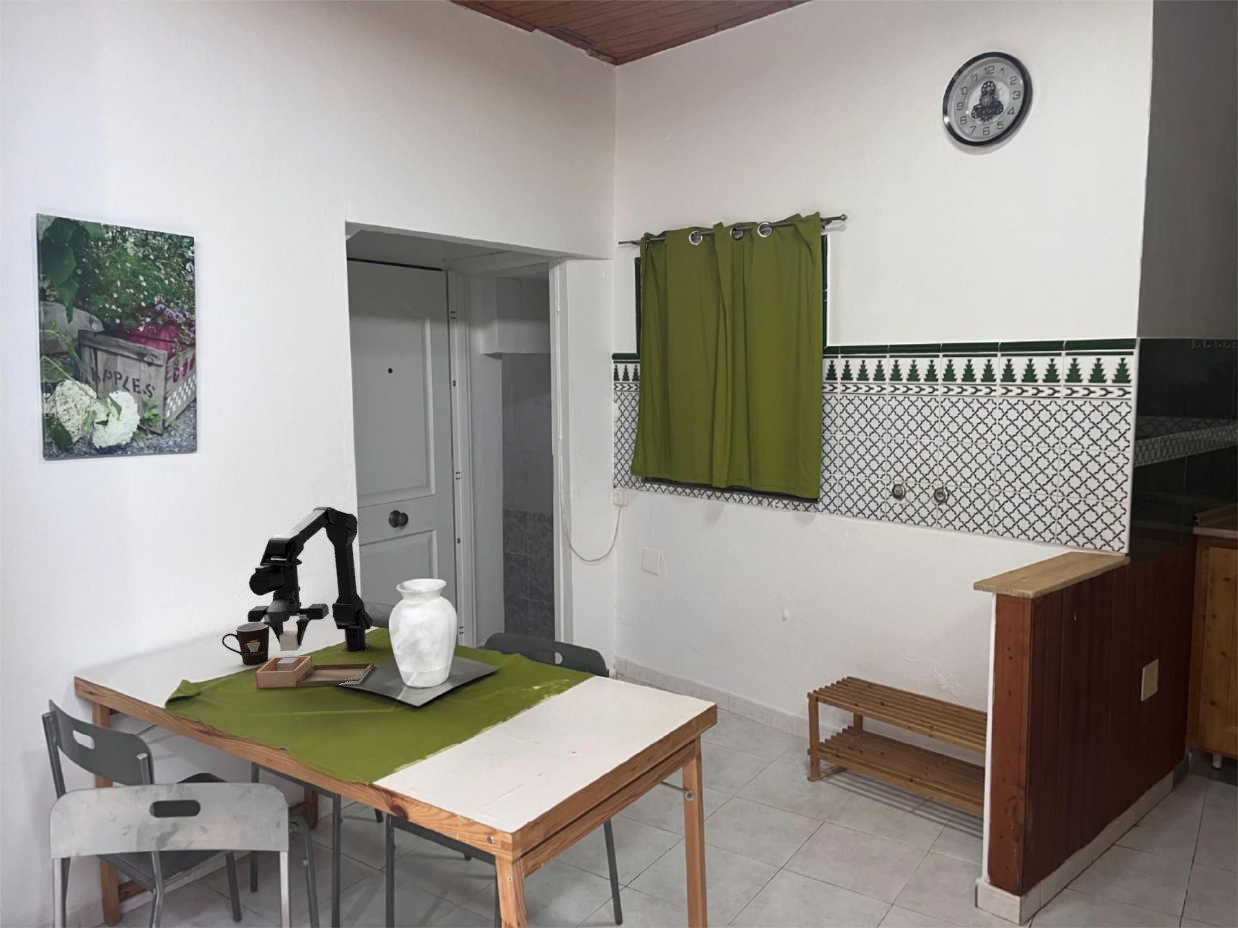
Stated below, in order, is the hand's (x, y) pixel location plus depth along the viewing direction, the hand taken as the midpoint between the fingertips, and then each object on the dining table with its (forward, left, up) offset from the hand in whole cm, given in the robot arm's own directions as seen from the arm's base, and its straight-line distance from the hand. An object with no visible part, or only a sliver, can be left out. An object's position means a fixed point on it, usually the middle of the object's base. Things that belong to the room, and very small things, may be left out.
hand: (291, 645), depth 228 cm
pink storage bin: (-3, -3, -10) cm, 11 cm away
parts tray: (-3, +10, -10) cm, 14 cm away
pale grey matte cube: (-5, -3, -10) cm, 11 cm away
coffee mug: (-19, -19, -10) cm, 29 cm away
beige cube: (0, 0, -1) cm, 1 cm away
